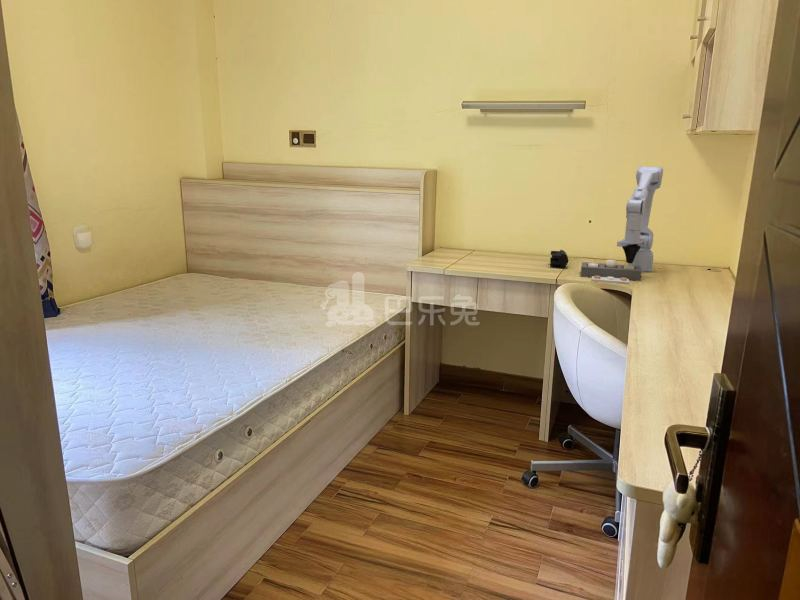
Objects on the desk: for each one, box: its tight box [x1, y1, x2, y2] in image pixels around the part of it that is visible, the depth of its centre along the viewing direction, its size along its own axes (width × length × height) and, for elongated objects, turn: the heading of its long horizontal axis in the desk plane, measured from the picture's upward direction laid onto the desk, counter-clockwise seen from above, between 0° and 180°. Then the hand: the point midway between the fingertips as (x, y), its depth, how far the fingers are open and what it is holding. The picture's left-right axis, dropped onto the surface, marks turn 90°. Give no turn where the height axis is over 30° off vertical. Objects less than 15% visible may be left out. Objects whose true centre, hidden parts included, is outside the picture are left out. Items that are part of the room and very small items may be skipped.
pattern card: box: [591, 275, 630, 285], centre depth 241 cm, size 14×6×2 cm, turn 72°
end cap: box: [549, 249, 569, 269], centre depth 268 cm, size 10×7×7 cm
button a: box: [624, 264, 634, 269], centre depth 248 cm, size 4×4×4 cm
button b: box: [605, 259, 617, 268], centre depth 249 cm, size 4×4×4 cm
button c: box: [588, 262, 598, 267], centre depth 252 cm, size 4×4×4 cm
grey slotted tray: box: [580, 261, 643, 282], centre depth 250 cm, size 23×11×4 cm, turn 72°
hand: (629, 262), depth 247 cm, fingers closed
